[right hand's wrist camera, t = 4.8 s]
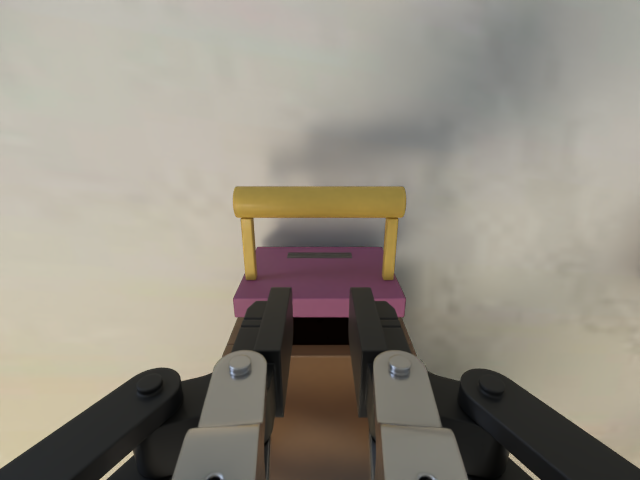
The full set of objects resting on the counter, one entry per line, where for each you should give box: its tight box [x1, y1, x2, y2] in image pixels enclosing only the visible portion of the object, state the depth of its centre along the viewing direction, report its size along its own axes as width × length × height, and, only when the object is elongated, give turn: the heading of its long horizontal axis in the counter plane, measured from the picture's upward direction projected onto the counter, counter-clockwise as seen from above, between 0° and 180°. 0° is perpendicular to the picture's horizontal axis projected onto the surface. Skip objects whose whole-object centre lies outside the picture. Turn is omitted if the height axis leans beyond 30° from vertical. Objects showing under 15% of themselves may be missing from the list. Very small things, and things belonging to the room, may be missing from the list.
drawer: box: [233, 187, 406, 345], centre depth 23 cm, size 21×9×8 cm, turn 0°
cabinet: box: [222, 317, 417, 480], centre depth 25 cm, size 17×10×9 cm, turn 0°
